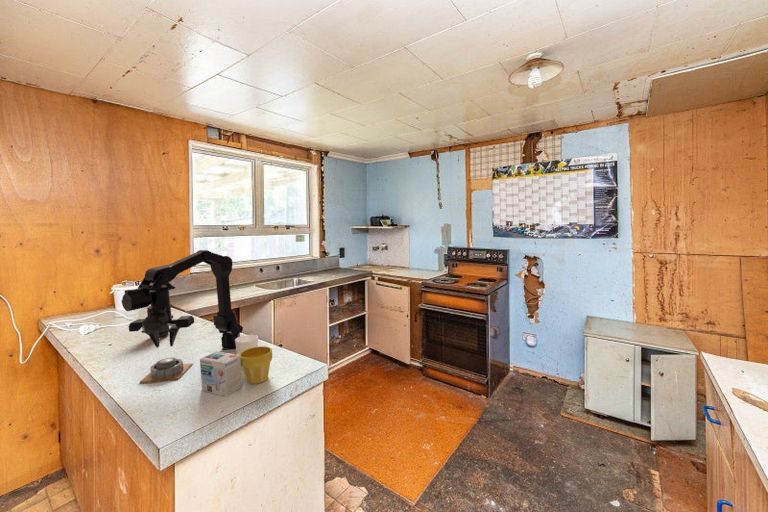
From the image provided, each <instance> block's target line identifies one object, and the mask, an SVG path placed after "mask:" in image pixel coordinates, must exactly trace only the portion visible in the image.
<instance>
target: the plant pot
mask: <svg viewBox="0 0 768 512" xmlns="http://www.w3.org/2000/svg"><path fill="white" fill-rule="evenodd" d="M239 355H240V361H241V366H242V367H241V368H242V370H243V372H244V376H245V378H246V382H247V383H248V384H251V385H255V384H256V385H257V384H260V383H261V384H262V383H263V382H266V381H267V380H268V379H269V375H270V366H271V362H272V360H273V350H272V348H271V347H269V346H259V345H258V347H253V348H249V349H246V350H244V351H242V352H241V353H240V354H239Z"/></svg>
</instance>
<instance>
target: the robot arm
mask: <svg viewBox="0 0 768 512" xmlns="http://www.w3.org/2000/svg"><path fill="white" fill-rule="evenodd" d="M201 263H205V264H206V265H208V266H210V269H211V272H212V274H213V276H214V278H215V284H216V295H217V306H218V312H217V313H216V315H213V326H215V329H216V330H218V332H219V333H220V334H222V336H221V347H222V348H221V350H232V349H233V348H234V349H236V343H235V339H236V338H238V337H240V335H241V333H242V332H243V331H244V327H243V326H242V324H241V325H240V324H239V323H238V320H237V316H236V315H235V313H234V311H233V309H232V299H231V287H230V285H231V284H230V274H231V273H232V270H233V259H232V258H231V256H229V255H221V254H218V253H215V252H212V251H210V250H208V249H200V250H199V249H198V250H197V251H196V252H194V253H192V254H189V255H187V256H184V257H182V258H180V259H178V260H176V261H174V262H172V263H169V264H164V265H163V264H162V265H159V266H155V267H151V268H148V269H147V270H146V271H145V273H144V276H143V279H142V280H141V282H140V284H139V285H138V286H137V288H134V289H125V290H124V293H123V296H122V299H121V305H122V307H123V309H124V310H125V311H126V312H130V311H136V310H140V309H143V308H144V309H146V308H148V307H149V306H151V309H149V315H147V316H146V317H145V318H138V319H135V320H134V321H132V322H130V323H129V324H128V333H129V332H130V333H131V332H139V331H140V330H141V329H142V330H141V331H140V332H141V333H142V334H146V335H148V336H149V338H150V339H151V341H152V343H153V345H155V347H156V348H158V349H159V348H160V339H159V330H160V329H161V327H162V326H167V325H169V329H168V334H169V335H168V336H169V346H170V348H171V347H174V346H173V345H174V344H175V341H176V338H177V335H178V333H179V330H180V329H183V328H184V329H185V328H186V329H187V328H189V327H190V326H192V325H193V324H194V323H195V318H194V316H193V315H181V316H179V318H177V319H174V315H172V308H173V304H172V303H171V297H170V290H175V289H176V286H174V285H173V284H171V283H170V282H172V281H173V280H175V279H176V277H177V276H178V275H179V274H181V273H183V272H186V271H187V270H189V269H191V268H194V267H195V266H197V265H199V264H201Z"/></svg>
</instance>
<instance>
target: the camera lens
mask: <svg viewBox="0 0 768 512" xmlns="http://www.w3.org/2000/svg"><path fill="white" fill-rule="evenodd" d="M146 308H147V309H146V313H147V316H148V315H149V309H151V305H149V306H148V307H146ZM168 329H170V325H167V326H162V327H161V329H160V330H159V340H160V339H163V338H166V337H168V336H169V332H168Z"/></svg>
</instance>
